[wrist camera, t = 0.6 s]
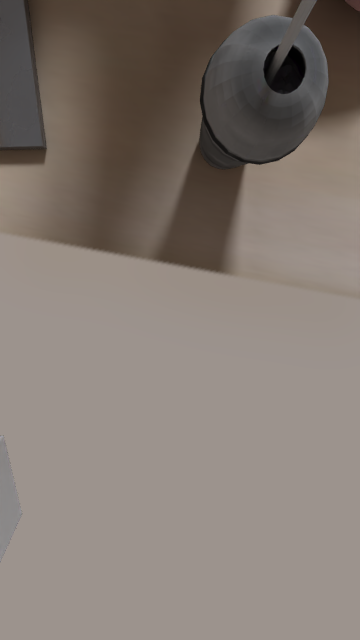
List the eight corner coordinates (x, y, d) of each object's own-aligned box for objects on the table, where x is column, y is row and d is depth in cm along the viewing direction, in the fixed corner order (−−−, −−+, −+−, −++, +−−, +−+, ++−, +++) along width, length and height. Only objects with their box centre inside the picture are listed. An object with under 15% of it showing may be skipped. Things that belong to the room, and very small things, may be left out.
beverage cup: (200, 197, 33) (265, 156, 13) (172, 115, 31) (200, -69, 11) (272, 167, 32) (444, 83, 13) (249, 84, 30) (410, -159, 11)
